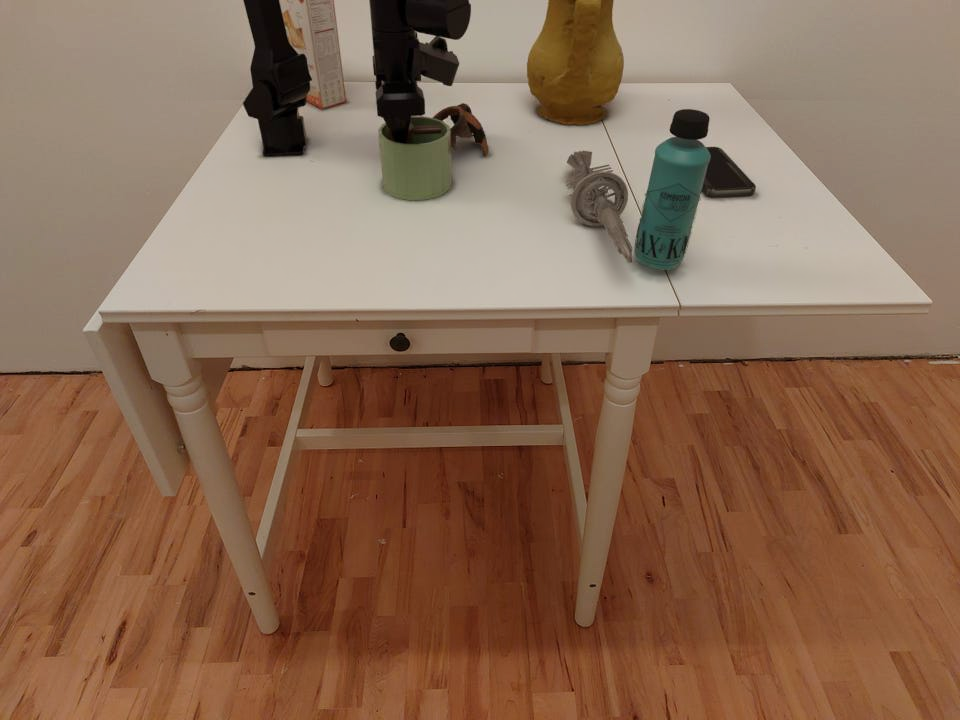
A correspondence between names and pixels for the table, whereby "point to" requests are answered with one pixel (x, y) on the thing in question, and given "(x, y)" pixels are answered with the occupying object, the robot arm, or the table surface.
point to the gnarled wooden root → (464, 125)
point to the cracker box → (317, 47)
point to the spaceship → (599, 199)
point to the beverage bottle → (673, 192)
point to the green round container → (417, 162)
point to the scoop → (417, 132)
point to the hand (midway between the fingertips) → (401, 141)
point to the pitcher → (575, 62)
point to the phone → (725, 177)
